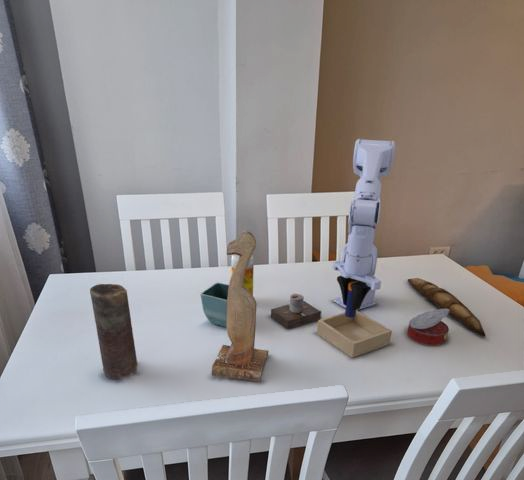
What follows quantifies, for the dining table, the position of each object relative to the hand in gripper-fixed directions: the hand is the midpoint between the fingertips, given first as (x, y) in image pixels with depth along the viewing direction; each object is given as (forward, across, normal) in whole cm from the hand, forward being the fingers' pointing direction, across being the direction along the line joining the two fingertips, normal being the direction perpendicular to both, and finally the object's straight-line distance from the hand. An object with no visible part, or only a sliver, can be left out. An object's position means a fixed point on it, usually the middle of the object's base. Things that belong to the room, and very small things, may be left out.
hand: (351, 306), depth 116 cm
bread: (+10, 0, +37) cm, 38 cm away
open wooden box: (+9, +1, +1) cm, 9 cm away
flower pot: (+10, -24, -23) cm, 34 cm away
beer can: (+10, -31, -13) cm, 35 cm away
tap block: (+9, -16, -5) cm, 19 cm away
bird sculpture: (+10, -3, -30) cm, 31 cm away
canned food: (+10, +9, +19) cm, 23 cm away
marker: (+2, 0, 0) cm, 2 cm away
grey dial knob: (+7, -16, -5) cm, 18 cm away
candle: (+10, -15, -54) cm, 56 cm away
